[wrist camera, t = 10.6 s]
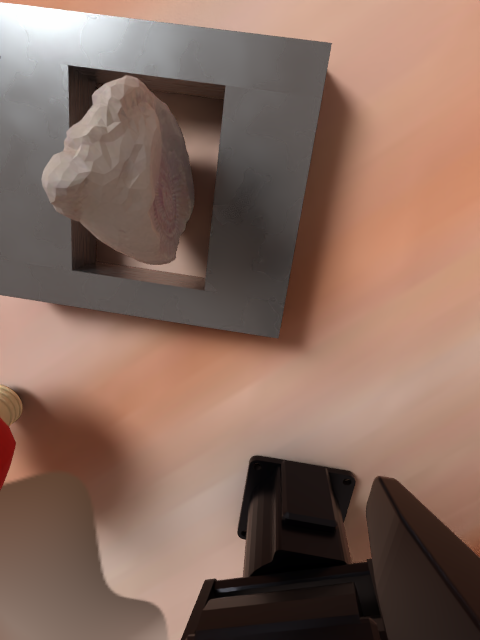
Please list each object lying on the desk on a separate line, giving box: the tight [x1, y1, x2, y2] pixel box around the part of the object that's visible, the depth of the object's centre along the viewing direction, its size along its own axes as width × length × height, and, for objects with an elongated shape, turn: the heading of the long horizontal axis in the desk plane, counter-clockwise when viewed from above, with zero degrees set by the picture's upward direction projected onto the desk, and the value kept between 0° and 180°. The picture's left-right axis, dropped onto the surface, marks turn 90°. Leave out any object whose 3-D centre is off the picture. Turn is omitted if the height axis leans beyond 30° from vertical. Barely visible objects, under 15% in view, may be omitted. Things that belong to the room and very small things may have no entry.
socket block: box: [0, 2, 332, 338], centre depth 17 cm, size 12×14×2 cm
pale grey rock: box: [41, 75, 195, 265], centre depth 14 cm, size 6×4×10 cm, turn 175°
